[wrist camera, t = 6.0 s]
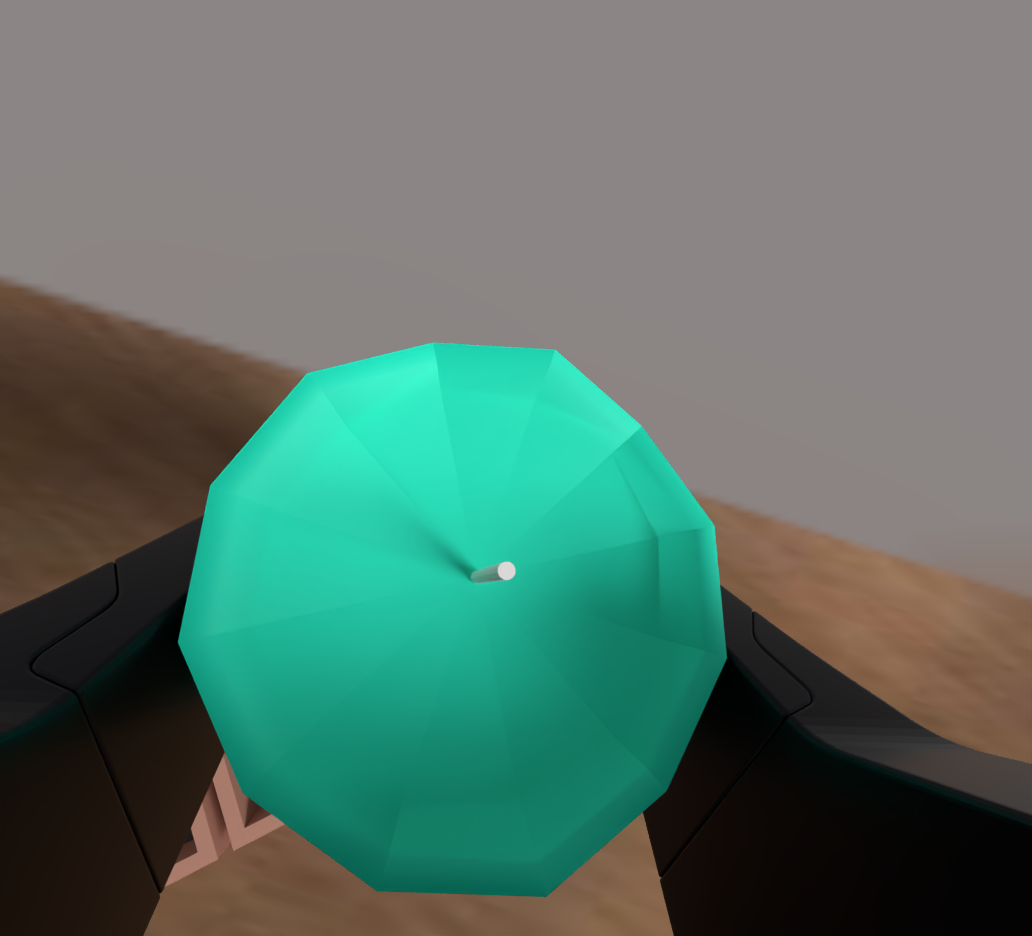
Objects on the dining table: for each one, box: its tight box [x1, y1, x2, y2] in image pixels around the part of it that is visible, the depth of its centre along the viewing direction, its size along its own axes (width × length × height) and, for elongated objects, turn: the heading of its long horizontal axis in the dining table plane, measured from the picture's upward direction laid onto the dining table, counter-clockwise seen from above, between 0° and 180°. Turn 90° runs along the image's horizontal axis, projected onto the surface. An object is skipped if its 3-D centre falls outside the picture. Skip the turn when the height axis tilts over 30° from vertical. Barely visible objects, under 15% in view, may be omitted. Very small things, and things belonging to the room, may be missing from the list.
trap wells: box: [165, 753, 284, 887], centre depth 18 cm, size 16×8×2 cm, turn 113°
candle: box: [178, 343, 727, 897], centre depth 9 cm, size 6×6×12 cm
